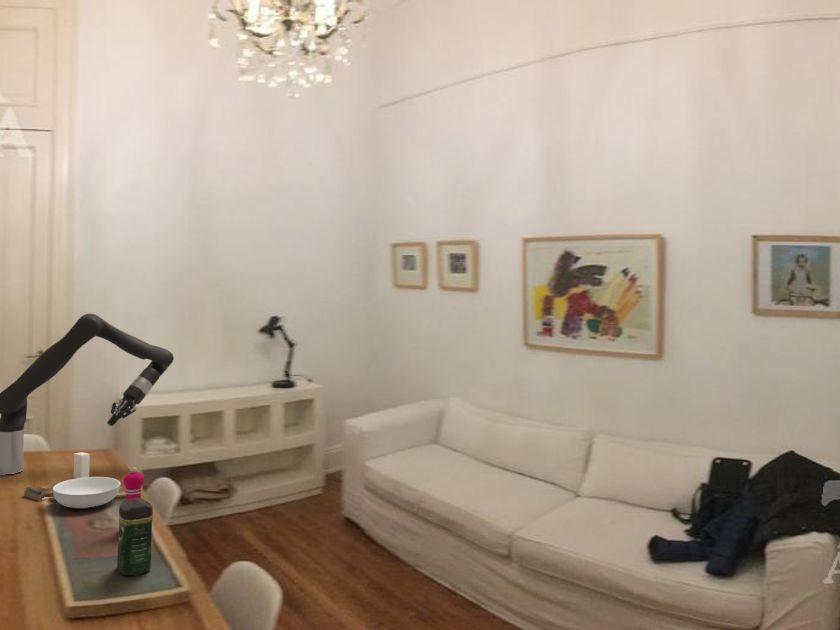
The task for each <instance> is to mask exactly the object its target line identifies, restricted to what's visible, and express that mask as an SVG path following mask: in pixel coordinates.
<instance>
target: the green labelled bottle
mask: <svg viewBox="0 0 840 630" xmlns="http://www.w3.org/2000/svg"><path fill="white" fill-rule="evenodd" d="M153 515H154V512H153V505H152V504H151V502H149V501H147V500H145V499H143V498H134V499H127V500H126V499H125V500H124V501H123V502H121V503H120V505H119V508H118V537H117V539H118V540H117V541H118V543H117V558H116V559H117V561H116V563H117V564H116V566H117V570H118V571H119V573H121V574H122V575H123V576H139V575H142V574H143V573H146V572H148V571H150V569H151V566H152V540H153V539H152V538H153V537H152V535H153V534H152V533H153Z"/></svg>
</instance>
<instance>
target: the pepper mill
mask: <svg viewBox="0 0 840 630" xmlns="http://www.w3.org/2000/svg"><path fill="white" fill-rule="evenodd" d="M122 483H123V486H124V487H125V488H124V494H125V496H126V498H125V500H127V499H134V498H141V495H142V492H143V485H144V483H145V476H144V474H143V473H141V472H139V471H138V468H137V467H136V466H133V467H132V468H131V471H130V472H128V473H127V474H125V476H124V478H123V482H122ZM141 499H142V498H141Z"/></svg>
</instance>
